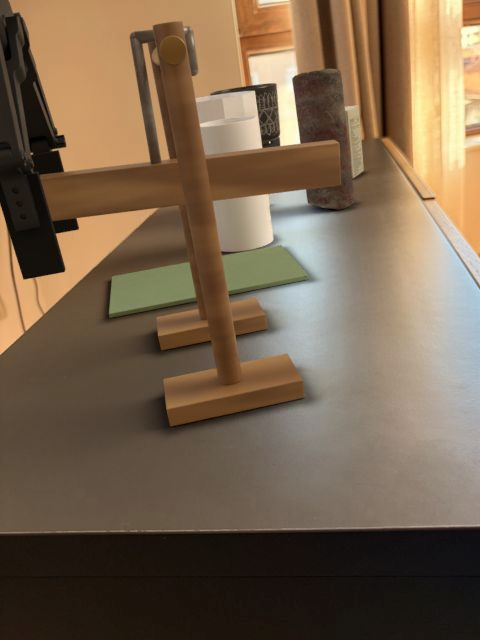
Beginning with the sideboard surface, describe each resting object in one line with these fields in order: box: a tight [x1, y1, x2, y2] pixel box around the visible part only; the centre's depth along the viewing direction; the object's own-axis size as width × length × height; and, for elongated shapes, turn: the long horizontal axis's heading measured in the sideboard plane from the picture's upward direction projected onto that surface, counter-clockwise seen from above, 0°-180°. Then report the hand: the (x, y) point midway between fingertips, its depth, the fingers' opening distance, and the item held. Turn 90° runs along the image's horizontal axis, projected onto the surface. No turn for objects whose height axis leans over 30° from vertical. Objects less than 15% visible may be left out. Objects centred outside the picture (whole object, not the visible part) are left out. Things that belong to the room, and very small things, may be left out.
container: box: [195, 91, 271, 207], centre depth 104 cm, size 14×14×18 cm
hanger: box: [40, 25, 341, 221], centre depth 47 cm, size 2×24×12 cm, turn 97°
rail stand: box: [146, 20, 306, 427], centre depth 50 cm, size 19×10×26 cm, turn 11°
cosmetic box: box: [345, 104, 365, 179], centre depth 119 cm, size 6×4×12 cm
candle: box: [291, 68, 355, 211], centre depth 97 cm, size 8×7×20 cm
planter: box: [209, 82, 281, 148], centre depth 126 cm, size 13×13×18 cm
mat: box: [108, 244, 310, 319], centre depth 76 cm, size 14×22×1 cm, turn 101°
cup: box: [200, 116, 274, 253], centre depth 85 cm, size 8×8×16 cm
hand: (55, 250), depth 49 cm, fingers open, 12 cm apart
